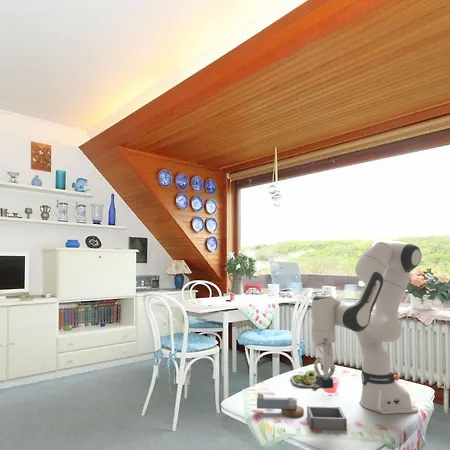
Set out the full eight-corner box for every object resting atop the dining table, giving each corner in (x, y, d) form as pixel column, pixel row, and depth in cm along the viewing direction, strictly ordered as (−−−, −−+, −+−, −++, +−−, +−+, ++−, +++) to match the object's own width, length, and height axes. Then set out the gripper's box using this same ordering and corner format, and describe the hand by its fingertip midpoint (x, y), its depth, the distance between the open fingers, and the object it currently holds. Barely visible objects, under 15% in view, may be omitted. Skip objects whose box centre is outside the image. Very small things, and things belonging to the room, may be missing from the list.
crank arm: (296, 406, 160) (296, 392, 160) (297, 410, 156) (297, 395, 156) (257, 405, 161) (256, 391, 161) (257, 409, 157) (256, 394, 158)
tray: (340, 417, 153) (340, 407, 153) (346, 430, 142) (346, 419, 142) (307, 416, 154) (306, 406, 154) (311, 429, 143) (310, 418, 143)
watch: (337, 387, 147) (337, 358, 148) (318, 389, 145) (318, 359, 146) (330, 382, 152) (330, 354, 153) (312, 383, 151) (311, 355, 152)
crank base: (302, 408, 162) (302, 404, 162) (305, 417, 153) (304, 413, 153) (280, 408, 163) (280, 404, 163) (282, 417, 154) (282, 413, 154)
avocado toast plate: (332, 391, 183) (331, 381, 183) (294, 390, 184) (294, 380, 184) (323, 378, 202) (323, 369, 203) (289, 377, 203) (289, 368, 203)
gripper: (337, 342, 140) (338, 381, 139) (327, 331, 160) (328, 365, 159) (319, 342, 140) (320, 381, 139) (311, 331, 161) (312, 364, 160)
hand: (324, 372), depth 149 cm, fingers closed on watch, 4 cm apart
